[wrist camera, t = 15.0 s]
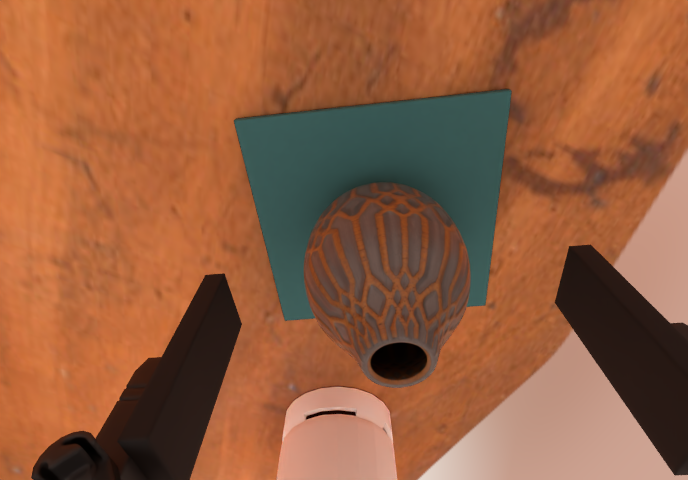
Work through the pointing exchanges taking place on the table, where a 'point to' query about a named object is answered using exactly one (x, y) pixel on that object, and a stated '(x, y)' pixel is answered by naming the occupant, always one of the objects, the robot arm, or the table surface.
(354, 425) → the bottle
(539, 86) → the table surface
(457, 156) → the mat
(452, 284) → the vase
